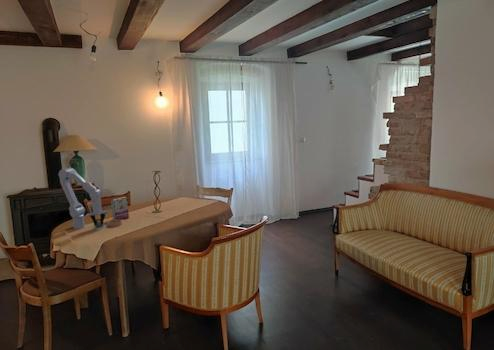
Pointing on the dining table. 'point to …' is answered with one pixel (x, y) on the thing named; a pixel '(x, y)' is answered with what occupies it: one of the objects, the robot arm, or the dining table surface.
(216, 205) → the dining table surface
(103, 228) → the checker
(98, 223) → the cell
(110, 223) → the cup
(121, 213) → the candy bar box
